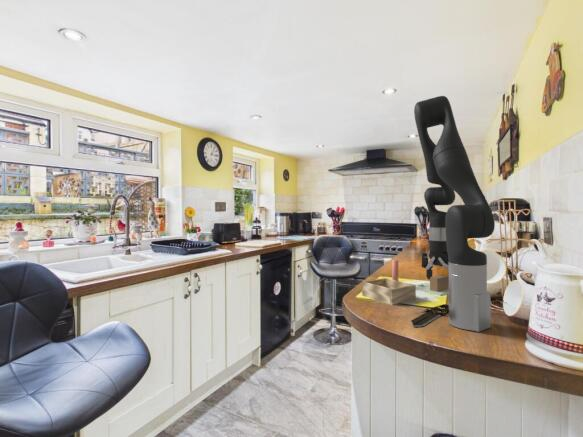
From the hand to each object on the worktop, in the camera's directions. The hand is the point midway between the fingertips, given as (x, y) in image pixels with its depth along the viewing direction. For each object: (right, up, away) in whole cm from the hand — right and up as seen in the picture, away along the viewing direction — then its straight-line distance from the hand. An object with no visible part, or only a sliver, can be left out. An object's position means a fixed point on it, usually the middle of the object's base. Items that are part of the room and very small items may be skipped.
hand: (439, 281), depth 119 cm
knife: (-15, -6, -25) cm, 30 cm away
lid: (-2, -5, +3) cm, 5 cm away
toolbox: (-22, -5, -7) cm, 24 cm away
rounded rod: (-15, -5, +6) cm, 17 cm away
